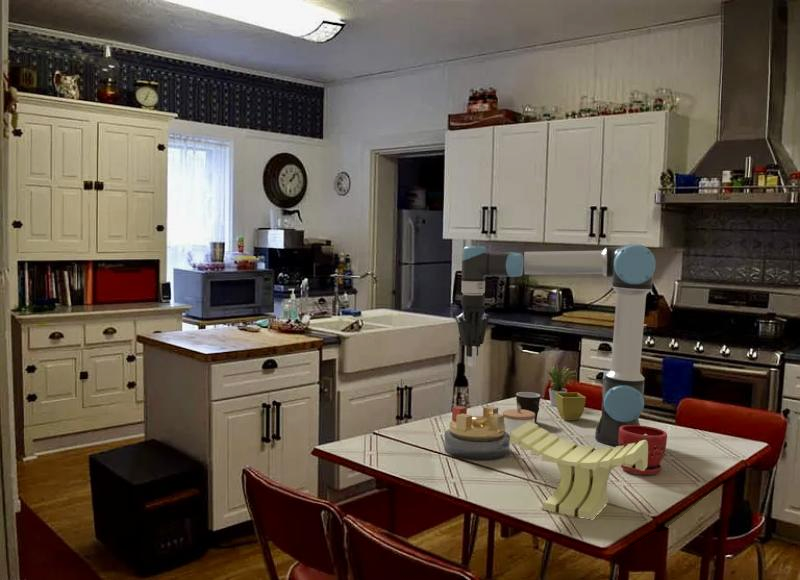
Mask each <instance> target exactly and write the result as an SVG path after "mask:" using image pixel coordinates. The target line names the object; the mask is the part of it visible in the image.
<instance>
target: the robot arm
mask: <svg viewBox="0 0 800 580" xmlns="http://www.w3.org/2000/svg"><path fill="white" fill-rule="evenodd" d="M656 267H657V265H656V258H655V255H654V254H653V252H652V251H651V249H649V248H647V247H646V246H645V245H643V244H638V243H631V244H625V245H621V246H620V245H619V246H612V247H609V246H607V247H605V248H604V249H602V250H566V251H565V250H562V251H559V250H558V251H557V250H555V251H554V250H553V251H524V252H523V251H506V252H487V249H486V247H485V246H472V245H471V246H468V245H467V246H464V247H463V249H462V257H461V293H462V294H461V296H460V297H461V301H460V302H461V303H460V304H461V306H462V308H461V312H460V314H459V315H455V317H454V320H455V321H456V324H457V328H458V332H459V337H460V344H461V345H463V346H465V347H466V349H465V351H466V352H465V354H466V357H467V367H471V368H477V362H478V361H477V360H478V359H477V357H478V355H479V348H480V347H481V345H483V344H484V341H485V337H486V331H487V328H488V322H489V320H490V318H491V315H490V314H487V313H485V308H484V306H485V304H486V303H485V302H486V299H485V298H486V296H485V295H484V294H485V292H486V277H508V278H509V277H510V278H515V277H522V275H603V276H604V277H605V278H612V286H611V288H612V289H613V290H614V291H615V292H616V298H615V299H616V300H615V312H614V324H613V336H612V337H613V339H612V350H611V351H612V353H611V364H610V365H611V366H610V369H609V370H605V371H604V372H603V377H602V395H601V397H602V398H601V415H600V419H599V421H598V424H597V427H596V429H595V432H594V436H595V437H594V438H595V440H596V441H597V442H599V443H602V444H604V445H609V446H615V447H616V446H619V442H618V438H619V428H620V427H621V426H624V425H640V426H641V424H640V420H639V417H640V415H641V414H642V412H643V411H644V407H645V399H644V389H645V377H644V376H643V374H642V373H641V363H642V362H641V361H642V349H643V348H642V347H643V338H644V337H643V336H644V325H645V323H644V322H645V314H646V313H645V312H646V303H647V301H646V299H647V294H649V293H650V292H651V291H653V280H654V279H653V278H654V273H655V270H656Z"/></svg>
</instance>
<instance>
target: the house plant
mask: <svg viewBox="0 0 800 580" xmlns="http://www.w3.org/2000/svg"><path fill="white" fill-rule="evenodd" d="M566 367H567V365H565V366H563V368H562V370H561V371H560V370H559V366H558V364H556V367H554V366H552V368H551V369H552V370H548V369H546V371H547V374H548V375H549V376H550V378H551V380H550V379H548V378H543V380H545V381H548V382H549V383H550V388H549V389H548V392H549V399H550V406H552V407H557V405H556V393H568V390H567V388H564V387H566V385H569V386H572V383H573V384H574V382H573V380H572V379H569V378H570V377H576V376H577V375H578V374H577V375H576V374H575V375H573V373H575V370H573V371H569V369H570V367H569V368H566ZM555 368H556V369H555ZM567 378H568V379H567Z"/></svg>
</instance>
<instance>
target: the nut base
mask: <svg viewBox="0 0 800 580" xmlns="http://www.w3.org/2000/svg"><path fill="white" fill-rule="evenodd" d="M443 444H444V446H443V447H444V452H445V453H446V454H448V455H449V456H451V457H455V458H458V459H462V460H467V459H468V461H478V462H479V461H480V462H481V461H482V462H483V461H494V460H501V459H505V458H507V457H508V456H509V454H510V436H509V434H508V433H507V432H506V431H505V437H504V438H502V439H500V440H496V441H486V442H478V441H468V440H462V439H458V438H455V437H453V436H452V435H450V428H449V429H447V430H446V431H445V432H444V443H443Z"/></svg>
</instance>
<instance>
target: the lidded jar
mask: <svg viewBox="0 0 800 580" xmlns="http://www.w3.org/2000/svg"><path fill="white" fill-rule="evenodd" d="M502 415H504V424H505V432H506V433H508V434H509V436H510V432H512V431H513V430H515V429H517V428H519V427H520V426H522V425H524V424H525V423H527V422H532V423H535V413H534V412H532V411H528V410H522V409H521V408H518V409H517V408H511V409H505V410H503V411H502Z"/></svg>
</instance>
